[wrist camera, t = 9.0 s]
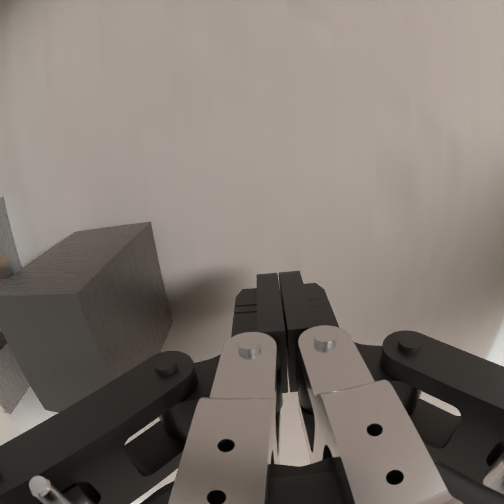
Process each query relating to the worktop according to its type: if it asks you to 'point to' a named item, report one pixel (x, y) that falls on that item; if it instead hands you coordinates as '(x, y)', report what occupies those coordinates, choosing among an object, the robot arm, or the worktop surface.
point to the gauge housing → (3, 361)
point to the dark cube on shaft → (86, 312)
